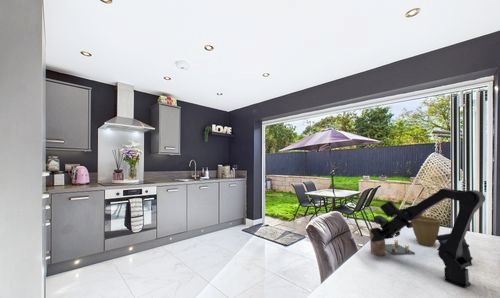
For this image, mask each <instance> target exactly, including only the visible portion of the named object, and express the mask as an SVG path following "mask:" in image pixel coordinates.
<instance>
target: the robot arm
mask: <svg viewBox="0 0 500 298" xmlns="http://www.w3.org/2000/svg"><path fill="white" fill-rule="evenodd" d="M447 199H449V200H453V201H458V204H459V205H458V206H459V211H458V213H457V216H456V218H455V221H454V222H453V223H454V224H453V226H452V228H451V231H450V233H451V234H450V233H449V234H450V236H449V239H448V240H444V241H441V242H440V243H439V247H438V248H437V249H436V251H437V254H438V257H439V258H440V259H441V260H442V263H443V265H444V269H443V270H444V272H443V273H444V281H445V282H448V283H451V284H454V285H455V286H456V285H457V286H460V287H462V288H465V289H466V288H467V287H468V286H470V285H471V284H472V283H471V282H470V277H469V269H468V268H469V264H470V263H469V262H468V261H467V260H466V259H465V258H464V257H463V256H462V251H463V249H462V242H463V240H464V238H465V237H466V235H467V233H468V229H469V227H470V224H471V222H472V220H473V217H474V215H475V213H476V212H477V211H478V210H480V208H481V207H482V205H483V204H484V203H485V201H486V195H484V193H483V192H481V191H479V190H475V189H472V190H471V189H470V190H458V189H451V188H440V189H439V190H438V191H436V192H434V193H433V194H431V195H430V196H428V197H426V198H425V199H423V200H421V201H420V202H418V203H417V204H413V205H410V206H408V207H407V206H406V207H405V208H400V209H399V208H398V207H397V206H396V205H395V204H394V202H393V201H391V200H389V201H387V202H386V203H383V204H382V205H381V206H380V207H379V209H380V210H381V211H382V212H383V214H385V216H386V217H387V218H391V219H390V220H388V219H386V218H385V217H384V216H382V215H379V214H378V215H375V216H374V217H373V222H375V223H376V224H377V225H379V227H377V226H376V227H373V228H372V229H371V228H370V229H371V232H372V234H373V235H374V236H373V238H372V242H375V241H382V240H384V239H385V240H388V239H389V240H390V239H393V238H397V237H399V236H400V235H401V231H402V229H403V228H405V227H406V228H407V229H411V228H412V229H413V227H412V222H411V220H415V219H418V218H419V217H420V216H421V217H422V216H423V215H424V213H425V212H426V211H427V210H429V209H431V208H433V207H434V206H436V205H438V204H440V203H442V202H443V201H445V200H447ZM380 229H381V230H380Z"/></svg>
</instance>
